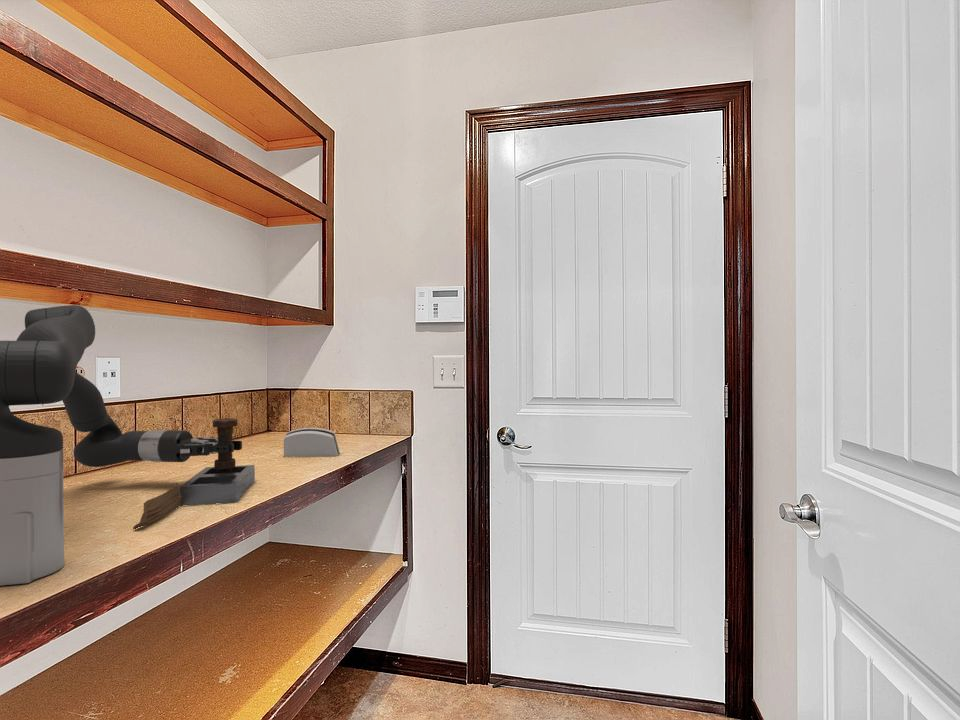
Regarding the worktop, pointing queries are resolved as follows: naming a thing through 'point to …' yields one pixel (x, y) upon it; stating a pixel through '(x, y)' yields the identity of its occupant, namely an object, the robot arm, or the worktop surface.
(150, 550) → the worktop surface
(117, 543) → the worktop surface
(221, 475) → the two-slot grey tray
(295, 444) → the grey napkin holder
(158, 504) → the wood plank
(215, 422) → the bolt
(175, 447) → the robot arm
